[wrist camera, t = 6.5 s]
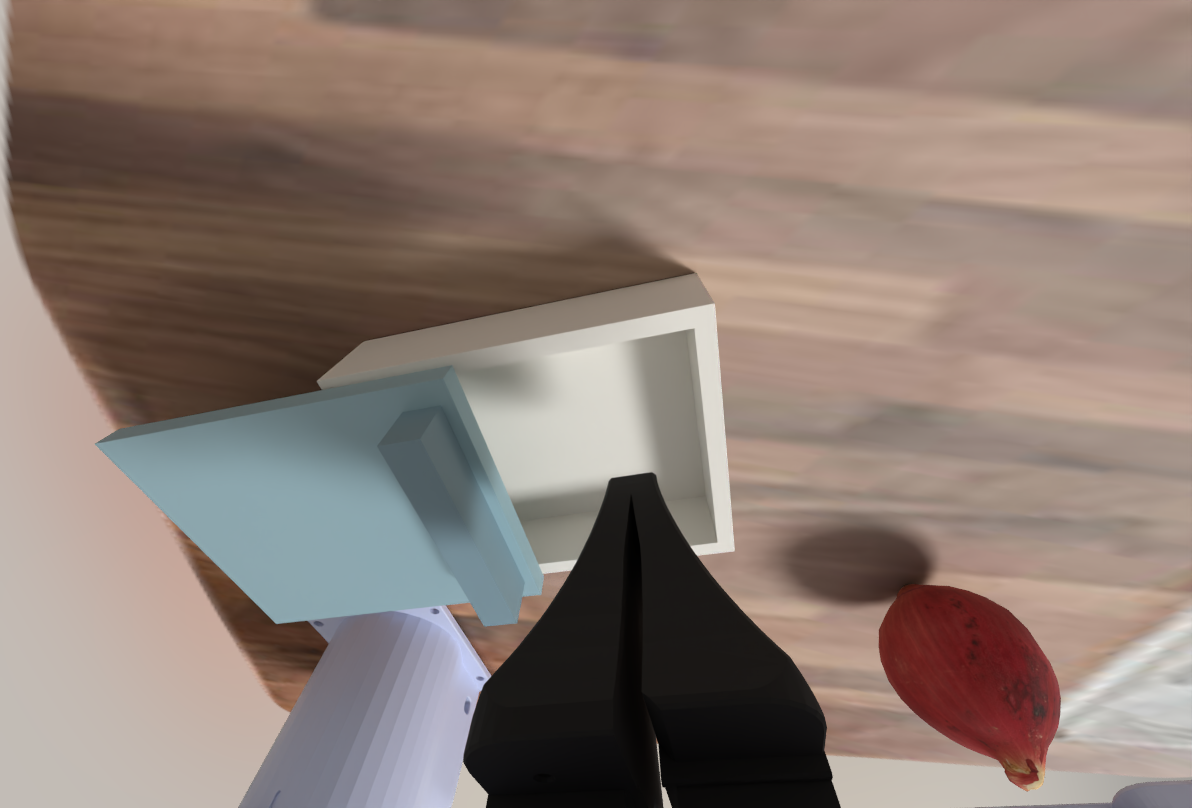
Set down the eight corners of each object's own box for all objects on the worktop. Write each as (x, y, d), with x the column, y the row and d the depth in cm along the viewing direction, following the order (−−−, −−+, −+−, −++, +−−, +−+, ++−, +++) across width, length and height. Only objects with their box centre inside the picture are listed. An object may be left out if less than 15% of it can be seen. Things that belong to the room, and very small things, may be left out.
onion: (906, 533, 20) (1054, 737, 13) (1001, 567, 21) (1184, 771, 14) (826, 603, 23) (914, 799, 16) (913, 630, 24) (1031, 825, 17)
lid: (543, 576, 18) (534, 635, 15) (288, 606, 19) (249, 663, 17) (452, 365, 13) (421, 410, 11) (119, 428, 14) (36, 478, 12)
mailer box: (718, 496, 19) (734, 551, 17) (464, 530, 21) (444, 585, 18) (696, 272, 14) (714, 303, 12) (363, 341, 16) (316, 381, 13)
